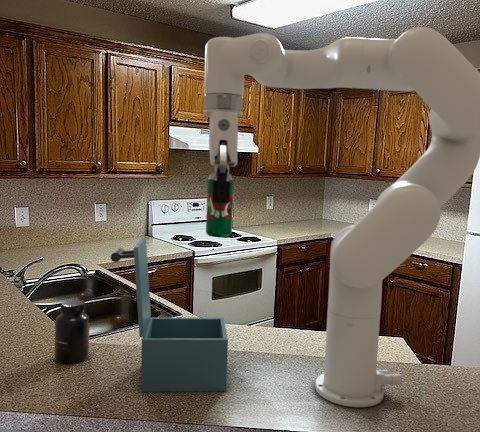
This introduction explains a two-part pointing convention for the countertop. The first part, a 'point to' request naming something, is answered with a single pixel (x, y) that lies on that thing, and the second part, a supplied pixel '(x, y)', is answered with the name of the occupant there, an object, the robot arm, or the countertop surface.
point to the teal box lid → (139, 280)
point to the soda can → (219, 212)
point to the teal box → (184, 355)
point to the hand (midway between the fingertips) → (220, 201)
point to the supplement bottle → (72, 333)
